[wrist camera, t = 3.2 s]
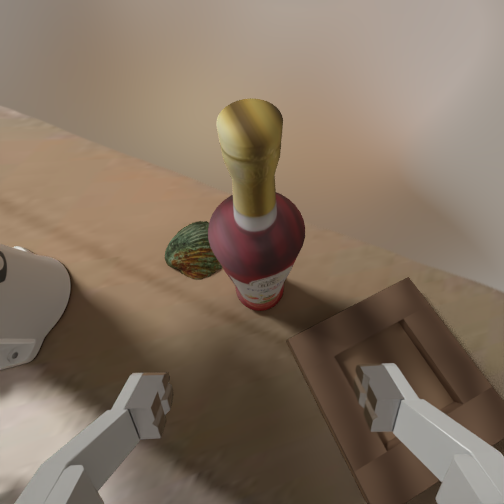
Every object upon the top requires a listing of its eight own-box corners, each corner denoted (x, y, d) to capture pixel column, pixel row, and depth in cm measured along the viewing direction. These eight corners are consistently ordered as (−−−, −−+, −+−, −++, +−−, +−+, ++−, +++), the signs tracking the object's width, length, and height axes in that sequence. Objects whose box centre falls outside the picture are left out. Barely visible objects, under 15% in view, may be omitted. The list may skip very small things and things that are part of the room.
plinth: (364, 499, 26) (378, 520, 23) (285, 340, 33) (287, 339, 29) (492, 417, 28) (522, 425, 25) (395, 283, 35) (408, 277, 32)
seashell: (234, 252, 33) (166, 281, 32) (238, 264, 37) (177, 290, 36) (211, 201, 38) (151, 225, 37) (217, 216, 42) (162, 239, 40)
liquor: (246, 321, 34) (188, 229, 8) (228, 276, 36) (140, 93, 10) (293, 301, 34) (382, 155, 9) (272, 257, 37) (291, 46, 11)
